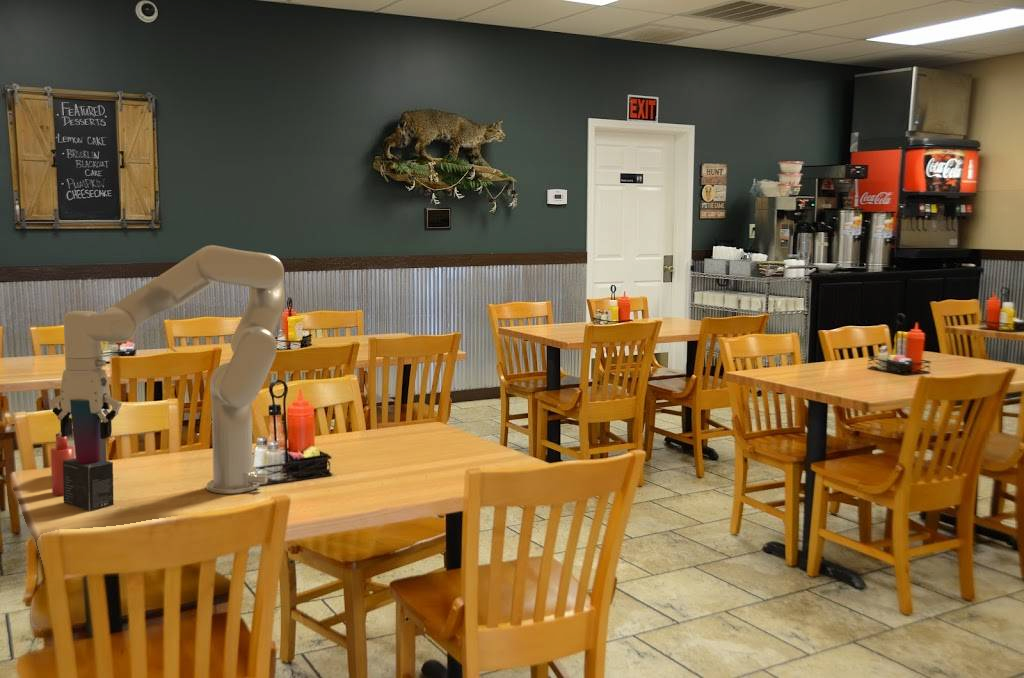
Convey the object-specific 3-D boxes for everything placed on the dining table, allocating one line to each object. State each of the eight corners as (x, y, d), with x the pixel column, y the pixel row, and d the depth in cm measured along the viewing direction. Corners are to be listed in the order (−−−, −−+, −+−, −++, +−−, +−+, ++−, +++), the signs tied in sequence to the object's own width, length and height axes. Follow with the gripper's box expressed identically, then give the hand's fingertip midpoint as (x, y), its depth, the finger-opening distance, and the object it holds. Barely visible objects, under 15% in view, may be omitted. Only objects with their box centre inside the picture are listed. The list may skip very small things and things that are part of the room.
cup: (91, 465, 203) (89, 401, 201) (65, 463, 204) (62, 399, 202) (110, 458, 209) (108, 396, 207) (85, 456, 211) (82, 394, 209)
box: (115, 505, 208) (113, 461, 206) (89, 512, 202) (87, 467, 201) (88, 496, 213) (87, 454, 212) (62, 503, 208) (60, 460, 206)
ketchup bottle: (79, 490, 218) (77, 428, 216) (67, 496, 213) (64, 433, 211) (60, 489, 219) (58, 427, 217) (47, 495, 214) (45, 432, 212)
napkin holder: (106, 470, 236) (105, 425, 234) (79, 483, 224) (77, 435, 222) (85, 469, 236) (84, 424, 235) (57, 481, 225) (55, 434, 223)
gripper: (127, 363, 206) (130, 435, 208) (58, 360, 208) (61, 431, 210) (109, 368, 199) (112, 442, 201) (38, 365, 201) (41, 438, 203)
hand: (86, 436), depth 206 cm, fingers open, 9 cm apart
